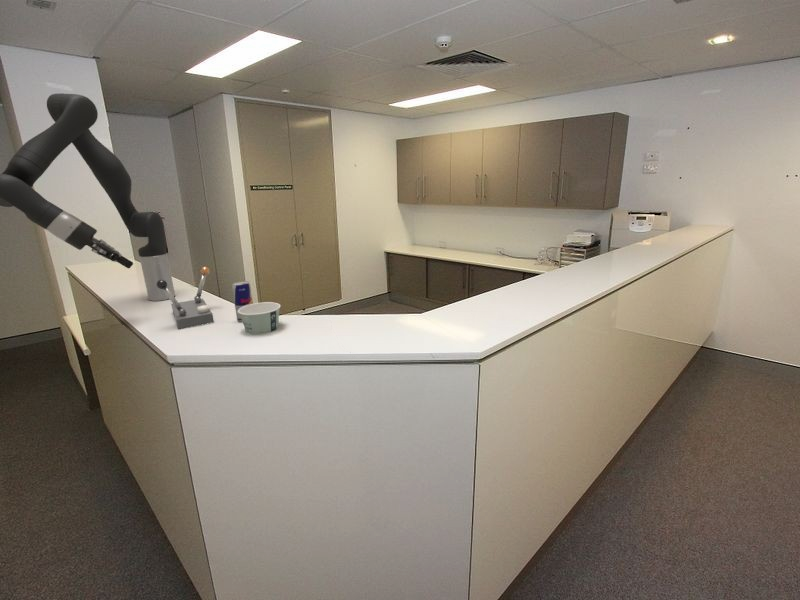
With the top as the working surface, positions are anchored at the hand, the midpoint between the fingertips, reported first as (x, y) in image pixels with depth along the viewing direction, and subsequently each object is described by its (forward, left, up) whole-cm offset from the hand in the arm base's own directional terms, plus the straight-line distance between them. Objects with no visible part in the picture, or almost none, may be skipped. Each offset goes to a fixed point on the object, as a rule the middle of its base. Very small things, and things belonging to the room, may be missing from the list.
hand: (131, 265), depth 128 cm
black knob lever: (+13, +11, -14) cm, 22 cm away
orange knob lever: (0, +17, -14) cm, 22 cm away
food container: (+33, +30, -19) cm, 48 cm away
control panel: (+6, +14, -18) cm, 24 cm away
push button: (+13, +17, -15) cm, 26 cm away
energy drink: (+21, +28, -19) cm, 39 cm away
